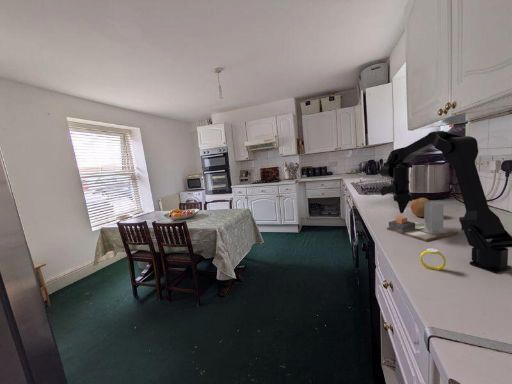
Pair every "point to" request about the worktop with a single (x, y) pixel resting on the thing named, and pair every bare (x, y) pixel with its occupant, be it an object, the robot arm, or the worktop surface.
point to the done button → (401, 220)
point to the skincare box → (433, 217)
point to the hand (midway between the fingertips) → (401, 213)
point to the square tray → (417, 231)
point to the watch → (433, 251)
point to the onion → (418, 206)
